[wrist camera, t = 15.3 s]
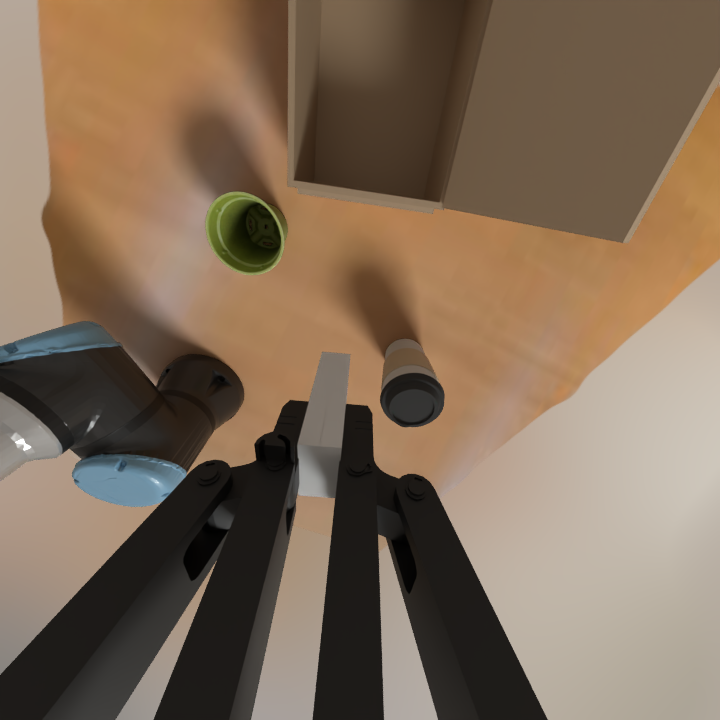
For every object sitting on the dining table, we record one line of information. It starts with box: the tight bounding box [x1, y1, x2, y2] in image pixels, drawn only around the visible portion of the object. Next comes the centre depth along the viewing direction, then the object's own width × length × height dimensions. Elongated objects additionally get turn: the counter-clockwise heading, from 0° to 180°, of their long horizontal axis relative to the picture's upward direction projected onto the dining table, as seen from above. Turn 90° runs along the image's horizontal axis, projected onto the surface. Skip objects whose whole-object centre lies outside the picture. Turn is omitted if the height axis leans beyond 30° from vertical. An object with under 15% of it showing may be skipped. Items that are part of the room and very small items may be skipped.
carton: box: [288, 0, 493, 214], centre depth 30 cm, size 16×21×12 cm
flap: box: [442, 0, 720, 243], centre depth 19 cm, size 16×20×1 cm
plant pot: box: [205, 191, 288, 275], centre depth 39 cm, size 9×9×9 cm
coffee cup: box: [380, 339, 444, 427], centre depth 46 cm, size 9×9×15 cm
